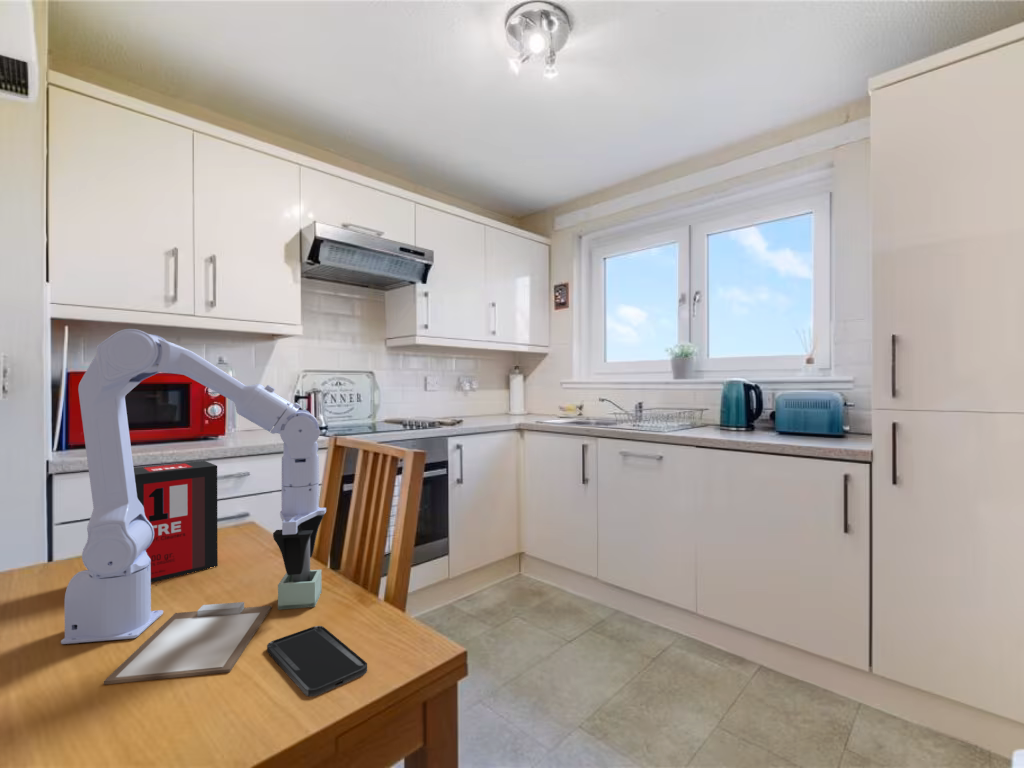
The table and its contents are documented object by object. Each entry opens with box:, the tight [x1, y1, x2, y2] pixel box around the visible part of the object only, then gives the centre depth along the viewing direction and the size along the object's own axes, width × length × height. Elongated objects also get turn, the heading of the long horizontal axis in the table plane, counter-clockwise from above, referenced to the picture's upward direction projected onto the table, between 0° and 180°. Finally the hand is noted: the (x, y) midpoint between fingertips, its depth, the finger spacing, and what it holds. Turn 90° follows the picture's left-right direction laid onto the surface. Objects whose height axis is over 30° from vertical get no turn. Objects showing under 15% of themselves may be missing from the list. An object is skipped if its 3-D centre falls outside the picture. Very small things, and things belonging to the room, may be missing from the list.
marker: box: [293, 539, 311, 582], centre depth 83 cm, size 3×3×10 cm
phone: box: [266, 625, 368, 698], centre depth 66 cm, size 8×1×15 cm
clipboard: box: [103, 601, 272, 685], centre depth 70 cm, size 14×18×1 cm
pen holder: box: [277, 568, 323, 610], centre depth 83 cm, size 6×6×4 cm
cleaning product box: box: [134, 460, 219, 584], centre depth 95 cm, size 16×9×20 cm, turn 136°
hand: (300, 565), depth 83 cm, fingers open, 7 cm apart
